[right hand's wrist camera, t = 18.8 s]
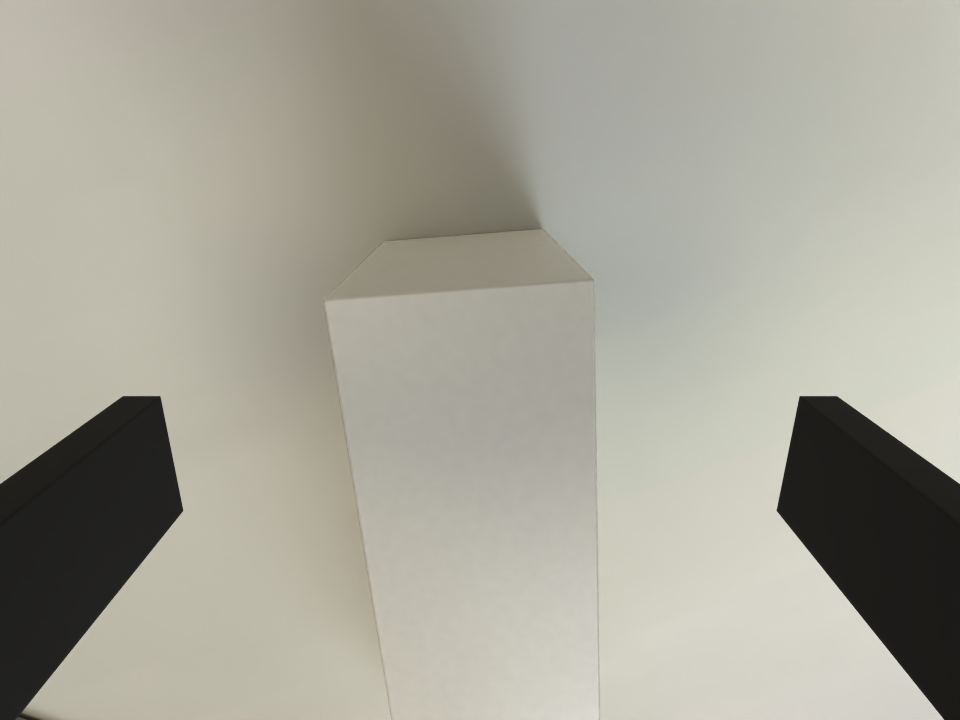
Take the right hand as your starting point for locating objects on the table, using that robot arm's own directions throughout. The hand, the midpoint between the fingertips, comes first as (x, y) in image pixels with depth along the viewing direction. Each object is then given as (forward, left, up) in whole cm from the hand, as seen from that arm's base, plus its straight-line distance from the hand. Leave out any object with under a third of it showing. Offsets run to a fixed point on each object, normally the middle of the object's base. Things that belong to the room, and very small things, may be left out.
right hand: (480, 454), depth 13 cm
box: (+7, +8, -13) cm, 17 cm away
